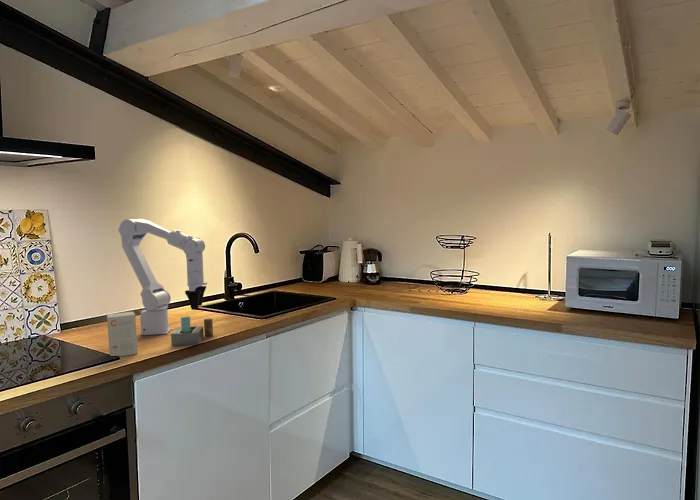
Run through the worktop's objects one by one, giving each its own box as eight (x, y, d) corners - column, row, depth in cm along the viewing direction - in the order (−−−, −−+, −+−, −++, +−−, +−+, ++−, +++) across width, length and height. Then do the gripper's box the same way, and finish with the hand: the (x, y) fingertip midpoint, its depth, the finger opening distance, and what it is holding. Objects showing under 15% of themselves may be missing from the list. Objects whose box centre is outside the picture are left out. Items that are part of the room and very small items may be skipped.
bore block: (171, 345, 171) (171, 334, 170) (178, 338, 180) (177, 327, 180) (198, 344, 172) (198, 332, 171) (203, 337, 182) (203, 326, 181)
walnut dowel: (203, 336, 182) (203, 320, 182) (205, 334, 185) (204, 318, 185) (212, 336, 182) (211, 320, 182) (213, 334, 185) (212, 318, 185)
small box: (135, 349, 167) (133, 311, 166) (137, 354, 161) (135, 314, 160) (109, 353, 163) (106, 313, 162) (110, 358, 157) (107, 317, 156)
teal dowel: (181, 341, 172) (179, 318, 171) (183, 339, 175) (181, 316, 174) (190, 340, 172) (189, 318, 172) (191, 338, 175) (190, 316, 175)
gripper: (202, 273, 178) (204, 310, 179) (209, 268, 192) (211, 303, 194) (182, 273, 177) (183, 311, 178) (190, 269, 192) (192, 304, 193)
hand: (196, 307), depth 186 cm, fingers open, 7 cm apart
